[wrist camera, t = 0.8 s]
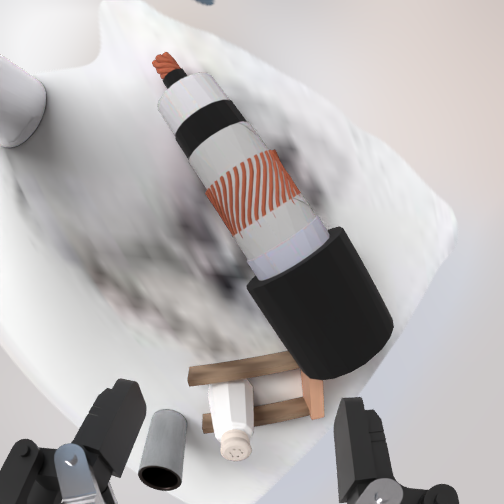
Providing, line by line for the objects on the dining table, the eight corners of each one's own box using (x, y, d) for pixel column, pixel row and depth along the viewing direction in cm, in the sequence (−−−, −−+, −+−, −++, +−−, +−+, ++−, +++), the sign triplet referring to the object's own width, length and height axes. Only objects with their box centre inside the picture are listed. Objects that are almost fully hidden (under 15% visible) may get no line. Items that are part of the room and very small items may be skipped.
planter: (145, 416, 33) (129, 472, 23) (171, 403, 33) (161, 461, 23) (167, 438, 34) (158, 494, 24) (194, 426, 34) (190, 484, 24)
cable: (188, 78, 33) (217, 18, 24) (342, 314, 35) (411, 308, 26) (112, 103, 28) (123, 34, 19) (284, 373, 30) (352, 387, 21)
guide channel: (204, 418, 34) (203, 438, 30) (189, 366, 33) (186, 385, 29) (314, 398, 35) (324, 416, 31) (311, 345, 34) (321, 361, 30)
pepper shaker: (235, 413, 35) (242, 477, 24) (198, 393, 34) (194, 456, 23) (262, 385, 34) (278, 446, 23) (224, 362, 33) (229, 423, 23)
